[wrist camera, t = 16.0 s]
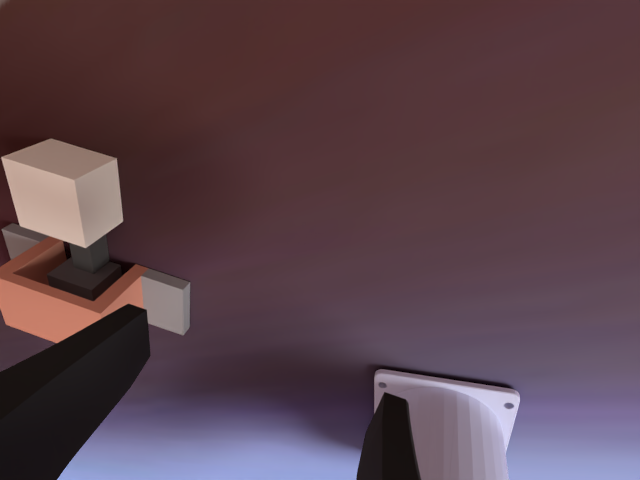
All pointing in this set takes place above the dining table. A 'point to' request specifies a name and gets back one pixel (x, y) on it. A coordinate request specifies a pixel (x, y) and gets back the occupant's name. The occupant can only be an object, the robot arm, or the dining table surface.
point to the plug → (69, 209)
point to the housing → (73, 311)
